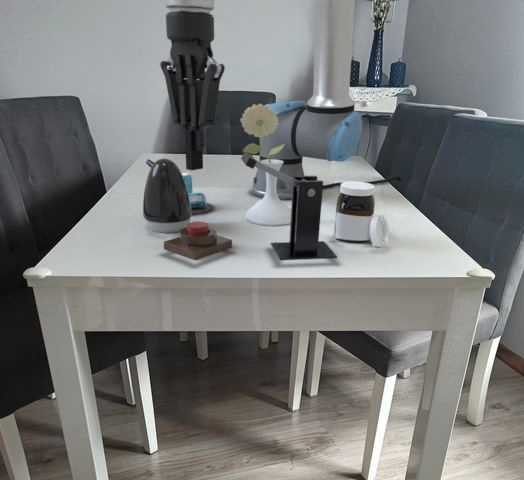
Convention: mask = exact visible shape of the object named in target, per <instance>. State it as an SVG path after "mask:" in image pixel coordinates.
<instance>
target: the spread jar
mask: <svg viewBox="0 0 524 480" xmlns="http://www.w3.org/2000/svg"><path fill="white" fill-rule="evenodd" d="M343 182H344V183H342V184H341V186H339V187H340V189H339V192H340V193H339V195H338V197H337V200H336V205H335V206H336V207H335V217H334V218H335V219H334V227H333V237H334V239H335V240H336V241H338V242H341V243H348V244H366V243H369V242H370V241H371V244H372V246H373V247H374V248H382V246H381V244H380V243H381V242H386V243H389V241H390V229H389V224H388V221H387V218H386V217H385V215H383V214H377V215H374V214H375V206H376V205H375V204H376V202H375V197H374V194H375V188H376V186H375V184H369V183H364V182H365V181H343Z"/></svg>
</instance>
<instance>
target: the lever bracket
mask: <svg viewBox="0 0 524 480" xmlns="http://www.w3.org/2000/svg"><path fill="white" fill-rule="evenodd" d="M302 178H303V179H305V180H307V181H301V180H302ZM293 179H295V180H297V181H298V190H297V187H295V186H292V199H291V205H290V206H291V207H290V209H291V222H290V224H289V241H287V242H270V246H271V248H272V249H273V251H274V253H275V254H276V257H277V258H278V259H279V261H296V260H297V261H299V260H323V259H325V260H327V259H338V256H337V255H336V254H335V252H334V251H333V250H332V249H331V248H330V246H329V245H328V244H327V243H326V241H324V240H321V241H320V240H319V238H320V227H321V217H322V201H323V191H324V188H323V185H324V181H323V180H318V176H317V175H305V176H293Z"/></svg>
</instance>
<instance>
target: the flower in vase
mask: <svg viewBox="0 0 524 480" xmlns="http://www.w3.org/2000/svg"><path fill="white" fill-rule="evenodd" d="M268 108H269V107H268V105H266V104H265V106H264V105H263V104H262V103H258V104H252V106H251V107H250V106H249V107H247V108H246V109H245V110H244V112H243V114H242V117H240V123H241V126H242V128H243V131H244V132H245V133H246V134H248V135H249V136H252V135H253V136H254V137H255V138H259V145H258V144H256V143H252V142H251V143H249V144H248V145H246V146H245V147H244V148H243V149H242V152H243V153H244V152H247V153H249V154H251V155H257V154H259V153H260V150H261V148H262V150H263V152H264V153H265V155H266V157H267V158H268V159H266V160H261V163H263V164H265V165H267V166H269V167H271V168H273V169H275V170H277V171H279V169H280V167H281V165H282V164H283V163H284V161H282V160H276V159H269V157H268V155H272V154H276V153H278V152H279V151H280V150H281V149H282V148H283V147H284V144H285V143H284V144H283V145H281V146H279V147H275V148H273V149H272V150H271V151H270V152H269V153H268V155H267V154H266V152H265V150H264V149H263V146H262V143H261V137H263V136H268V134H273V133H274V130H275V129H276V128H277V127H276V126H278V125H279V123H278V117H277V114H276V113H275V110H274V109H271V108H269V109H268ZM260 145H261V147H260ZM265 173H266V193H265V196H264V197H261V199H260V200H259V201H258V202H256V203H255V204H254V205H253V206H251V207H250V208H249V209H248V210H247V212H246V213H245V219H246V221H247V222H249V223H251V224H253V225H257V226H263V227H281V226H287V225H290V222H291V207H289V206H288V205H287V204H286V203H285V202H283V201H282V199H279V198H278V196H277V192H276V184H277V177H275V176H273V175H271V174H269V173H267V172H265Z"/></svg>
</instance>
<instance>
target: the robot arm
mask: <svg viewBox="0 0 524 480" xmlns="http://www.w3.org/2000/svg"><path fill="white" fill-rule="evenodd" d="M164 2H165V5H164V6H165V8H167V9H168V10H169V12H167V13H166V15H165V28H166V30H165V31H166V38H167V40H169V41H170V42H171V47H170V51H169V57H168V58H167V59H166V60H161V61H160V64H159V65H160V68H161V71H162V73H163V76H164V80H165V84H166V90H167V94H168V99H169V104H170V110H171V115H172V120H173V123H174V124H176V125H177V124H178V125H179V126H180V128H181V129H182V134H183V135H182V138H183V139H182V142H183V148H184V149H185V170H188V171H196V170H202V169H204V154H203V152H204V150H205V132H206V131H205V130H206V129H208V128H211V127H213V126H214V123H215V117H216V112H217V111H216V110H217V104H218V98H219V92H220V91H219V90H220V85H221V79H222V77H223V76H224V75H223V74H224V72H225V71H226V70H225V69H226V67H225V65H224V64H223V63H218V62H217V61H216V60H215V58H214V53H213V50H212V44H211V43H212V42H213V41H214V40H215V17H214V16H213V14H211V12H212V11H213V10H214V9H215V0H164ZM355 6H356V0H315V15H314V17H315V20H314V21H315V22H314V50H313V51H314V53H313V55H314V56H313V87H312V88H313V91H312V92H313V93H312V96H311V97H310V98H309V99H308V100H307V101H305V100H296V101H286V102H285V101H284V102H275V103H267V104H265V105H268V107H269V108H271V109H274V110H275V113H276V114H277V117H278V123H279V125H278V126H276V127H277V128H276V129H275V130H274V133H273V134H268V136H263V137H261V143H262V146H263V149H264V150H265V152H266V154H267V155H268V153H269V152H270V151H271V150H272V149H273V148H275V147H279V146H281V145H283V144H284V143H285V144H284V147H283V148H282V149H281V150H280V151H279V152H278V153H276V154H272V155H268V157H269V159H276V160H282V161H284V163H283V164H282V165H281V167H280V169H279V172H281V173H283V174H285V175H287V176H289V177H291V178H293V176H306V175H305V171H304V167H303V158H310V159H317V160H325V161H327V162H345V161H347V160H349V159H350V158H351V157H352V155H353V154H354V153H355V151H356V149H357V147H358V146H359V142H360V139H361V135H362V131H363V119H362V115H361V113H359V111H356V110H355V107H356V106H355V105H356V102H355V100H354V99H353V98H352V97H351V94H350V87H351V86H350V84H351V71H352V68H351V67H352V53H353V52H352V51H353V36H354V24H355V23H354V21H355ZM265 105H263V106H265ZM269 108H268V109H269ZM259 146H260V147H261V145H260V144H259ZM266 159H268V158H267V157H266V155H265V153H264V152H263V150H262V148H261V150H260V151H259V162H261V160H266ZM393 180H397V181H398V182H402V181H403V179H402V178H401V177H400V176H398V175H393V176H391V177H388V178H384V179H379V180H372V181H363V182H364V183H369V184H372V185H378V184H382V183H389V182H391V181H393ZM252 181H253V183H252V187H251V189H252V190H251V192H252V194H253V195H255V196H257V197H260V198H263V197H264V196H265V193H266V173H265V171H263V170H261V169H259V168H257V170H256V173H255V176H254V177H253V179H252ZM344 182H345V181H343V182H342V181H341V182H334V183H328V184H323V189H328V188H333V187H341V184H342V183H344ZM292 186H293V185H291V184H289V183H287V182H285V181H283V180H281V179H279V178H277V184H276V192H277V196H278V198H279V199H280V200H292Z"/></svg>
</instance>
